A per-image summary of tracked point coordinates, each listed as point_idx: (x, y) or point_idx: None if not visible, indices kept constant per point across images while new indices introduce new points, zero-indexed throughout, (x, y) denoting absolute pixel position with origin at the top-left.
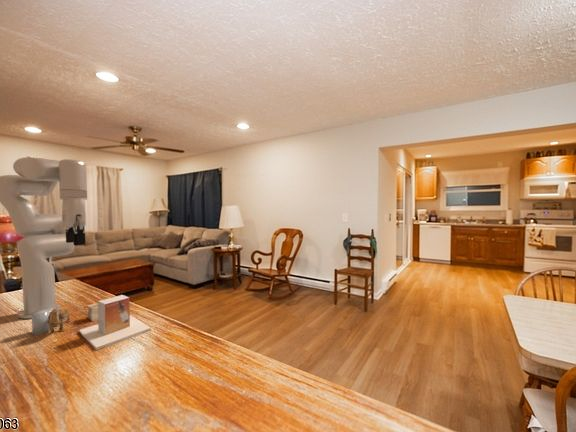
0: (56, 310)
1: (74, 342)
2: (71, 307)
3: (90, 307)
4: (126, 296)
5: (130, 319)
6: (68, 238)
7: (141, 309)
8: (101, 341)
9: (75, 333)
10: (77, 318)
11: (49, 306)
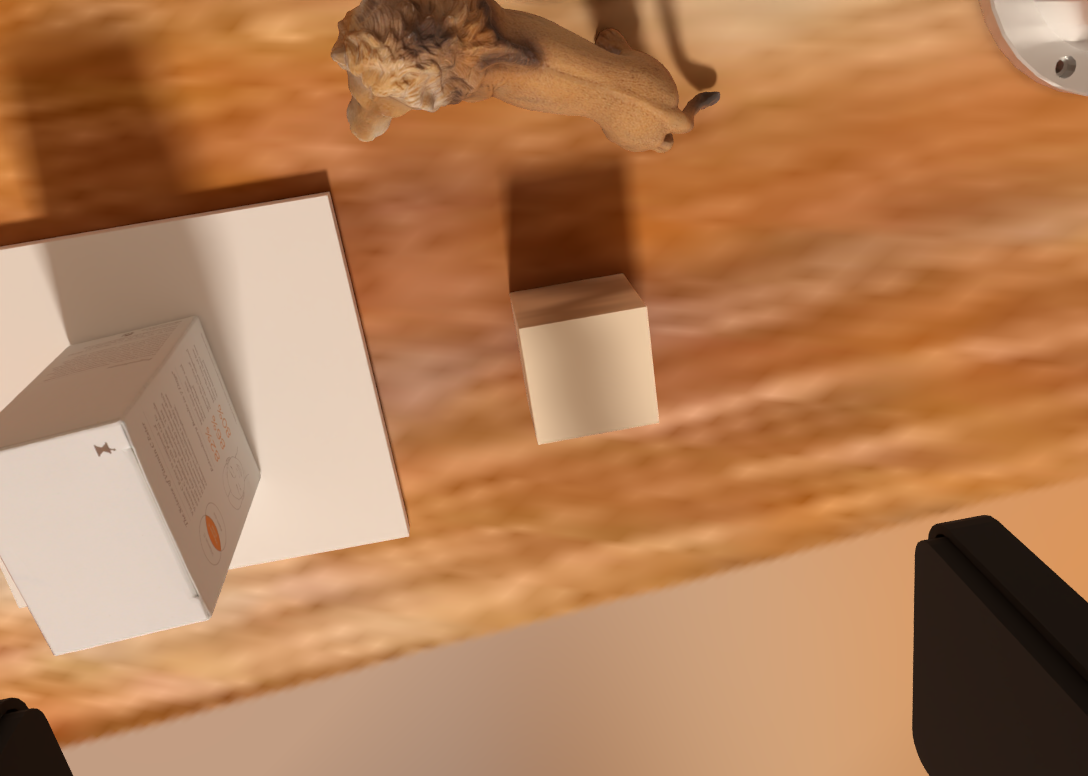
0: (359, 54)
1: (131, 148)
2: (1027, 175)
3: (564, 321)
4: (111, 642)
5: (291, 526)
6: (987, 660)
7: (507, 613)
8: None
9: (323, 165)
10: (676, 200)
11: (1060, 3)
